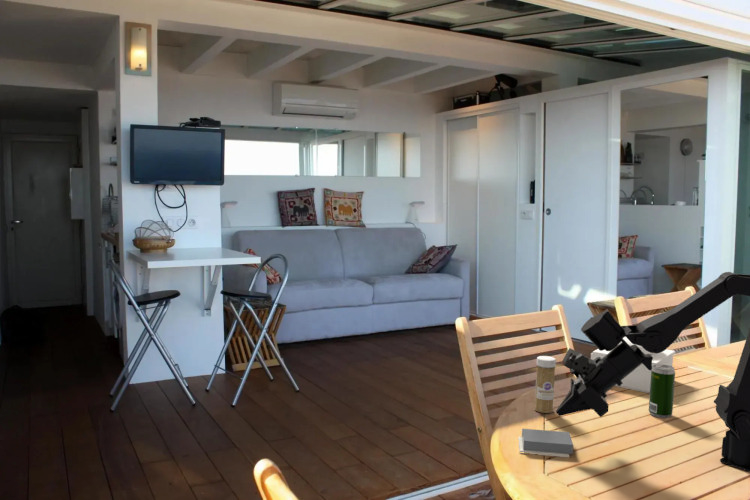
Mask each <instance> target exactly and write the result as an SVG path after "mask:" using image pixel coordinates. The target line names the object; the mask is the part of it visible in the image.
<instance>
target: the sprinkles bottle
mask: <svg viewBox="0 0 750 500" xmlns="http://www.w3.org/2000/svg"><path fill="white" fill-rule="evenodd" d="M556 364H557V359H556V358H555V357H553V356H549V355H539V356H537V357H536V377H535V394H534V396H535V402H534V404H535V406H534V411H536V412H537V413H542V414H550V413H551V414H552V413H553V411H554V397H555V380H556V379H555V369H556V367H557V365H556Z"/></svg>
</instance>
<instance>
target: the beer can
mask: <svg viewBox="0 0 750 500" xmlns="http://www.w3.org/2000/svg"><path fill="white" fill-rule="evenodd" d="M675 381H676V371H675V367H673V365H672V366H668V365H662V364H656V365H653V368H652V370H651V382H650V393H649V397H648V398H649V401H648V412H649V414H650V415H651V416H653V417H655V418H658V419H659V418H660V419H668V418H669V419H670V418H671V417H672V415H673V410H674V397H675V396H674V395H675V394H674V393H675Z"/></svg>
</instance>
